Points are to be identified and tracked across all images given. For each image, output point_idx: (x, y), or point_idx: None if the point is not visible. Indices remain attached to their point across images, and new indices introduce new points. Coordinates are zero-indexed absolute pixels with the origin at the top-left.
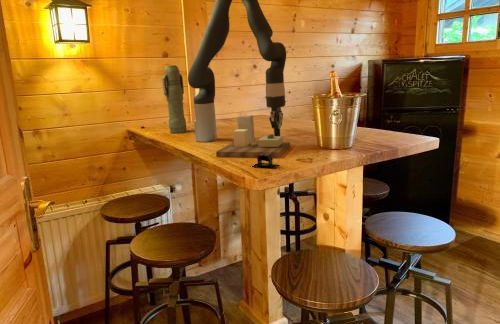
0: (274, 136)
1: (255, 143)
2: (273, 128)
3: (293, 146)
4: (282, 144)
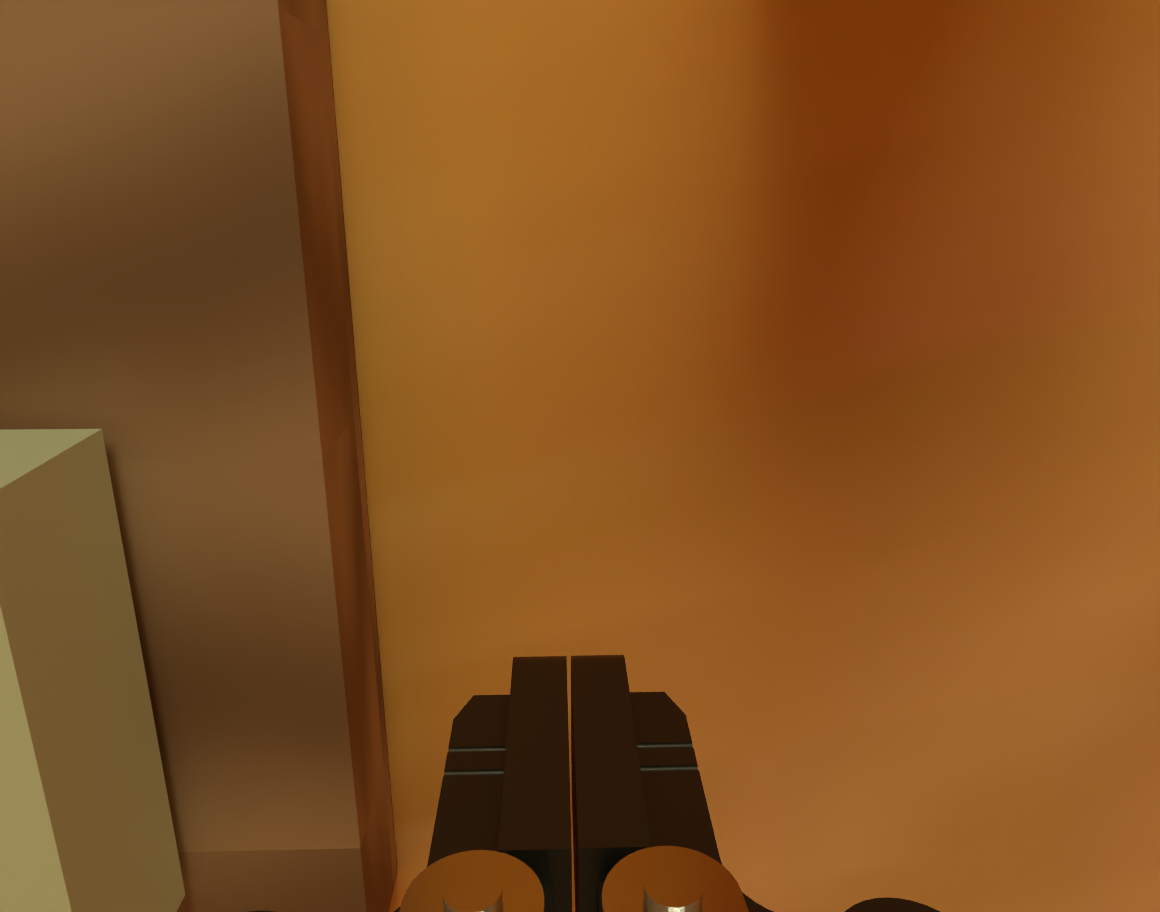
0: (2, 861)
1: (32, 134)
2: (415, 884)
3: None
4: None
